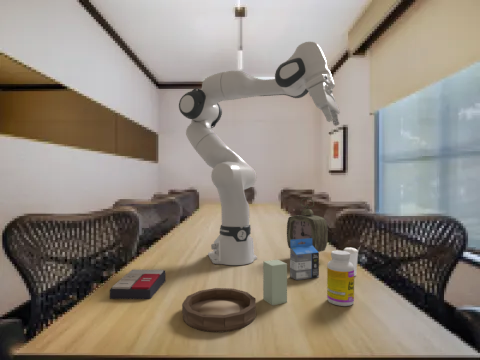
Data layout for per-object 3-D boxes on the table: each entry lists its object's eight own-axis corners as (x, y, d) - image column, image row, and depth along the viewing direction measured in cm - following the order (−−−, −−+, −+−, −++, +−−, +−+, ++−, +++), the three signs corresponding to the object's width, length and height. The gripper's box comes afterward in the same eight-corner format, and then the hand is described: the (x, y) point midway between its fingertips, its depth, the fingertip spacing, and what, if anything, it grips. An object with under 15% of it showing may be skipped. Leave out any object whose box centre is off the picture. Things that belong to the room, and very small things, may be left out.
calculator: (109, 286, 78) (131, 267, 93) (109, 302, 78) (131, 280, 93) (149, 287, 78) (165, 267, 93) (150, 303, 78) (166, 281, 93)
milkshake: (362, 277, 96) (361, 246, 96) (344, 276, 97) (344, 246, 97) (359, 273, 100) (359, 244, 100) (342, 272, 101) (342, 243, 101)
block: (263, 299, 78) (263, 261, 78) (277, 296, 80) (277, 259, 80) (272, 305, 74) (272, 265, 74) (287, 302, 76) (287, 263, 76)
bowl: (175, 306, 73) (175, 294, 73) (237, 295, 80) (237, 284, 80) (195, 339, 58) (195, 324, 58) (269, 321, 65) (269, 308, 65)
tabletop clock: (286, 258, 121) (286, 197, 121) (301, 254, 126) (300, 196, 126) (315, 265, 109) (315, 198, 110) (330, 261, 115) (329, 198, 115)
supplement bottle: (351, 309, 72) (351, 256, 72) (324, 303, 75) (324, 253, 75) (356, 300, 77) (356, 251, 77) (331, 295, 81) (330, 248, 81)
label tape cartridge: (296, 280, 92) (296, 241, 93) (289, 277, 96) (289, 239, 96) (319, 277, 96) (319, 239, 96) (312, 274, 99) (312, 237, 100)
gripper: (320, 97, 112) (332, 130, 109) (302, 82, 94) (316, 122, 92) (336, 89, 108) (348, 123, 106) (321, 73, 91) (336, 113, 89)
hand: (333, 123), depth 99 cm, fingers open, 8 cm apart
